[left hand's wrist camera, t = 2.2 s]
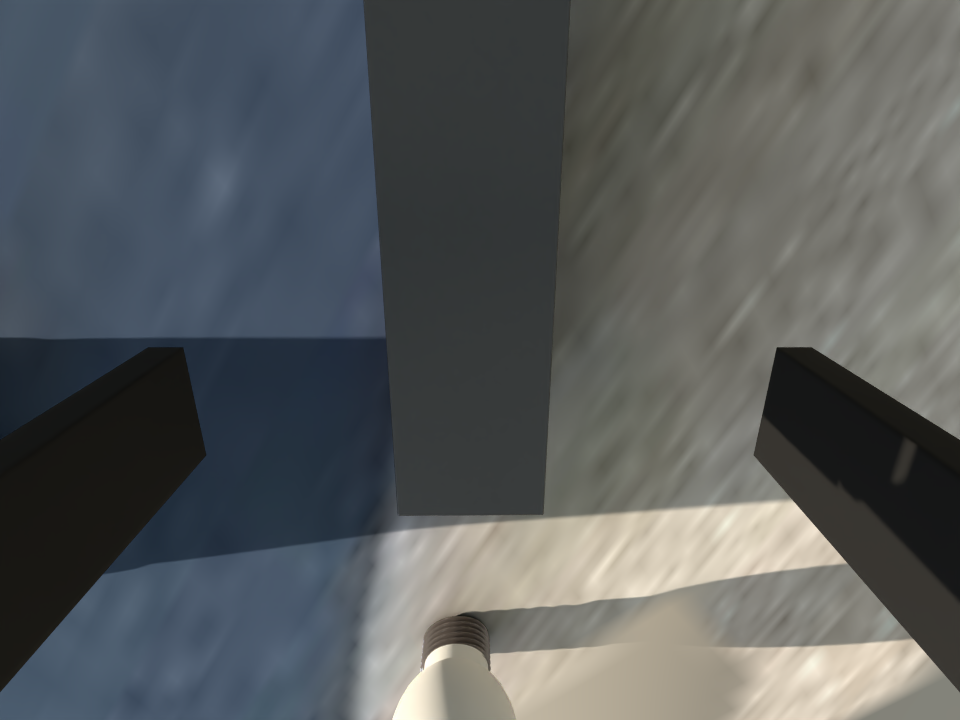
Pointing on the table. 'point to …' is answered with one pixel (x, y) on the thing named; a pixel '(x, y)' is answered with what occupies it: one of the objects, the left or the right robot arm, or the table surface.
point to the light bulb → (455, 676)
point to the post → (468, 242)
